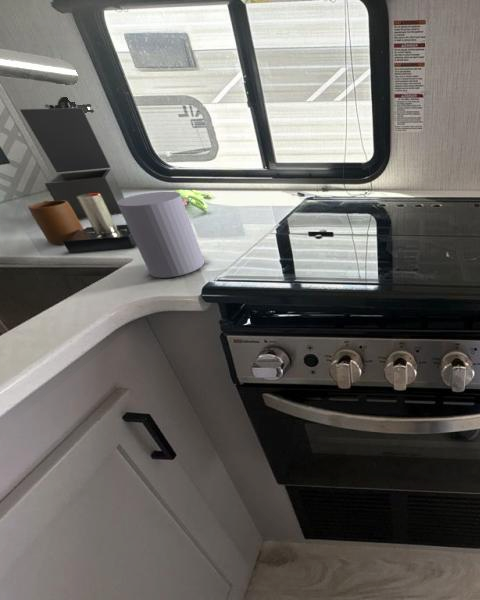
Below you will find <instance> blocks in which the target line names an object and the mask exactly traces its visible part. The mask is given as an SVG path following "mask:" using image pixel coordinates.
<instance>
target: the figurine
mask: <svg viewBox="0 0 480 600" xmlns="http://www.w3.org/2000/svg"><path fill="white" fill-rule="evenodd" d="M172 192H177V193H180V195H181V198H182V200H183V203H184V206H187V204H188V203H187V201H188V202H189V204H190V205H191V206H193V207H195V208H197V209H198V210H201V211H202V212H203V213H204V214H208V211H207V208H208V204H207V203H206V202H205V201H204V197H205V198H209V199H210V198H212V197H213V194H212V193H211V192H208V193H205V192H202V191H199V190H194V189H191V190H188V189H176V190H173V191H172Z"/></svg>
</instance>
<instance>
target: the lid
mask: <svg viewBox="0 0 480 600" xmlns="http://www.w3.org/2000/svg"><path fill="white" fill-rule="evenodd" d="M19 111H20V113H21V114H22V116H23V118H24V120H25V122H26V123H27V125H28V126H29V128H30V130H31V132H32V133H33V135H34V137H35V138H36V140H37V142H38V144H39V145H40V147H41V149H42V150H43V152H44V154H45V155H46V157H47V158H48V160H49V162H50V164H51V165H52V167H53V168H54V170H55V172H56V173H70V172H81V171H92V170H103V169H111V165H110V163H109V161H108V159H107V157H106V155H105V153H104V151H103V149H102V148H103V147H102V146H101V144H100V142H99V140H98V138H97V136H96V134H95V132H94V129H93V127H92V125H91V124H90V120H89V118H87V117H86V115H85V113H84V111H83V109H82V108H55V109H46V108H21V109H19Z"/></svg>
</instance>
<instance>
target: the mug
mask: <svg viewBox="0 0 480 600" xmlns="http://www.w3.org/2000/svg"><path fill="white" fill-rule="evenodd" d="M28 210H29V212H30V214H31V216H32V218H33V219H34V221H35V223H36V224H37V226H38V228H39V229H40V231H41V233H42V234H43V236H44V237H45V239H46V240H47V242H48V243H50V244H52V245H64V243H63V242H62V241H64V240H66V239H68V238H69V237H71V236H73V235H75V234H76V233H78V232H80V231H82V230H83V229H84V228H83V226H82V224H81V222H80V219H78V218H77V216H76V214H75V213H74V211H73V209H72V207H71V206H70V204H69V203H68V201H66V200H55V201H54V200H43V201H41V202H37V203H33V204H31V205H29V206H28Z"/></svg>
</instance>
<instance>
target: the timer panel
mask: <svg viewBox="0 0 480 600" xmlns="http://www.w3.org/2000/svg"><path fill="white" fill-rule="evenodd" d="M115 225H116V227H117V229H118V230H117V231H115V232H112V233H109V234H101V235H99V234H96V233H95V231H94V229H93V227H92V226H87V227H84V228H83V230H82V231H80V232H78V233H76V234H75V235H73V236H71V237H69V238H68V239H66V240H64V241H62V242H63V243H64V244H63V245H64V247H65V249H66V251H67V252H68V253H69V254H75V253H87V252H97V251H98V252H99V251H110V250H123V249H134V248H135V247H137V245H136V243H135V240H134V238H133V236H132V234H131V232H130V230H129V228H128V225H127V224H115Z"/></svg>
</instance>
